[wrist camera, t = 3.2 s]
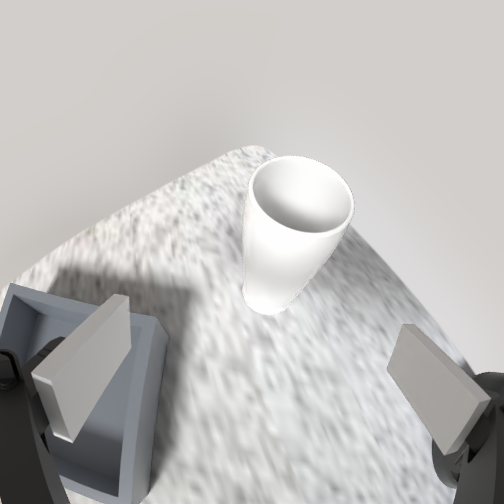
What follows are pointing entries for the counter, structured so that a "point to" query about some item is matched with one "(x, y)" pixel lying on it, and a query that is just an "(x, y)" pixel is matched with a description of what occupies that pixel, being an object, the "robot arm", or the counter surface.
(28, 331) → the bin
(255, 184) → the white plastic tumbler
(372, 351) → the counter surface
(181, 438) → the counter surface
